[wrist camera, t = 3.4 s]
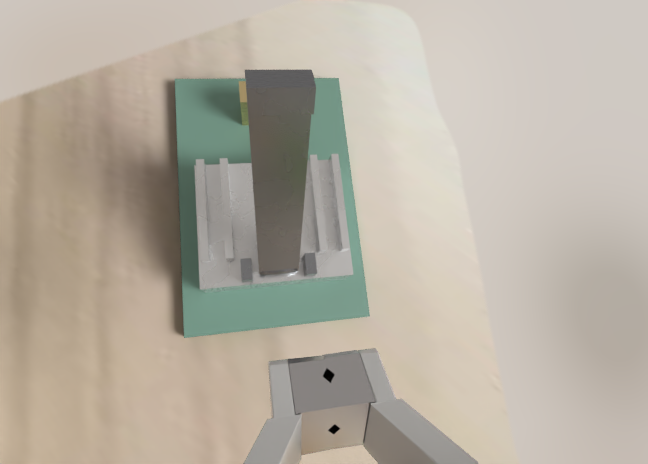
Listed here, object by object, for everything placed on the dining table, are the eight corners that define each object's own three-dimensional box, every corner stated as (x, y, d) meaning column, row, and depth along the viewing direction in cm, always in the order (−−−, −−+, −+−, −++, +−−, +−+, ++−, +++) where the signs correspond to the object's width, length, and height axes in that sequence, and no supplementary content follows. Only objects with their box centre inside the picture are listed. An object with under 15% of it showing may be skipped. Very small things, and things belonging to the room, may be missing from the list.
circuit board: (366, 316, 36) (369, 316, 35) (186, 337, 33) (184, 337, 32) (336, 85, 41) (338, 78, 40) (177, 86, 38) (174, 78, 37)
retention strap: (296, 264, 31) (299, 280, 30) (258, 267, 30) (260, 284, 29) (311, 68, 18) (316, 87, 17) (244, 68, 17) (246, 87, 16)
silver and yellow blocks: (343, 279, 35) (358, 272, 30) (207, 292, 33) (196, 287, 28) (322, 104, 39) (332, 69, 33) (197, 107, 37) (186, 69, 31)
